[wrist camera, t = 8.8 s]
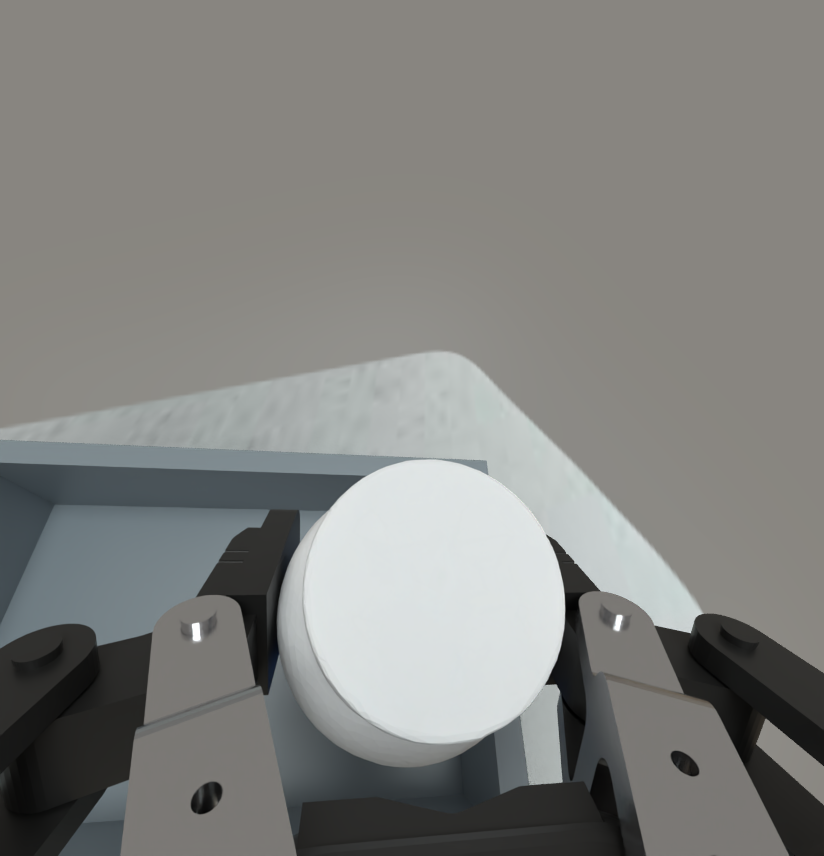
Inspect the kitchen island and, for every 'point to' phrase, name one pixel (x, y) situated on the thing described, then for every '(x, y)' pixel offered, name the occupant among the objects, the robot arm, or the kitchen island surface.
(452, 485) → the pill bottle
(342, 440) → the kitchen island surface
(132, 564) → the tote
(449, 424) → the kitchen island surface
